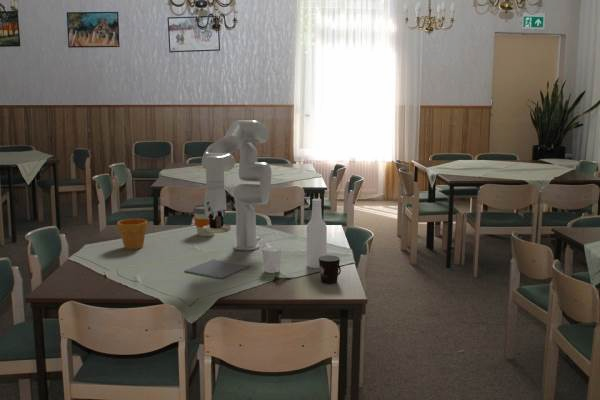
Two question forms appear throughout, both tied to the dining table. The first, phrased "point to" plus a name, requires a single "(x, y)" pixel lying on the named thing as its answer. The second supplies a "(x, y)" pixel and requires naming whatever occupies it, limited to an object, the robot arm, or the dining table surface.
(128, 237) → the flower pot
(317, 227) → the alcohol
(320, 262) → the coffee mug
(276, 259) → the white cup
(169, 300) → the dining table surface
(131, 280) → the dining table surface
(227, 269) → the mat
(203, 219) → the reusable coffee cup
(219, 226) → the lid
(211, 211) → the robot arm
